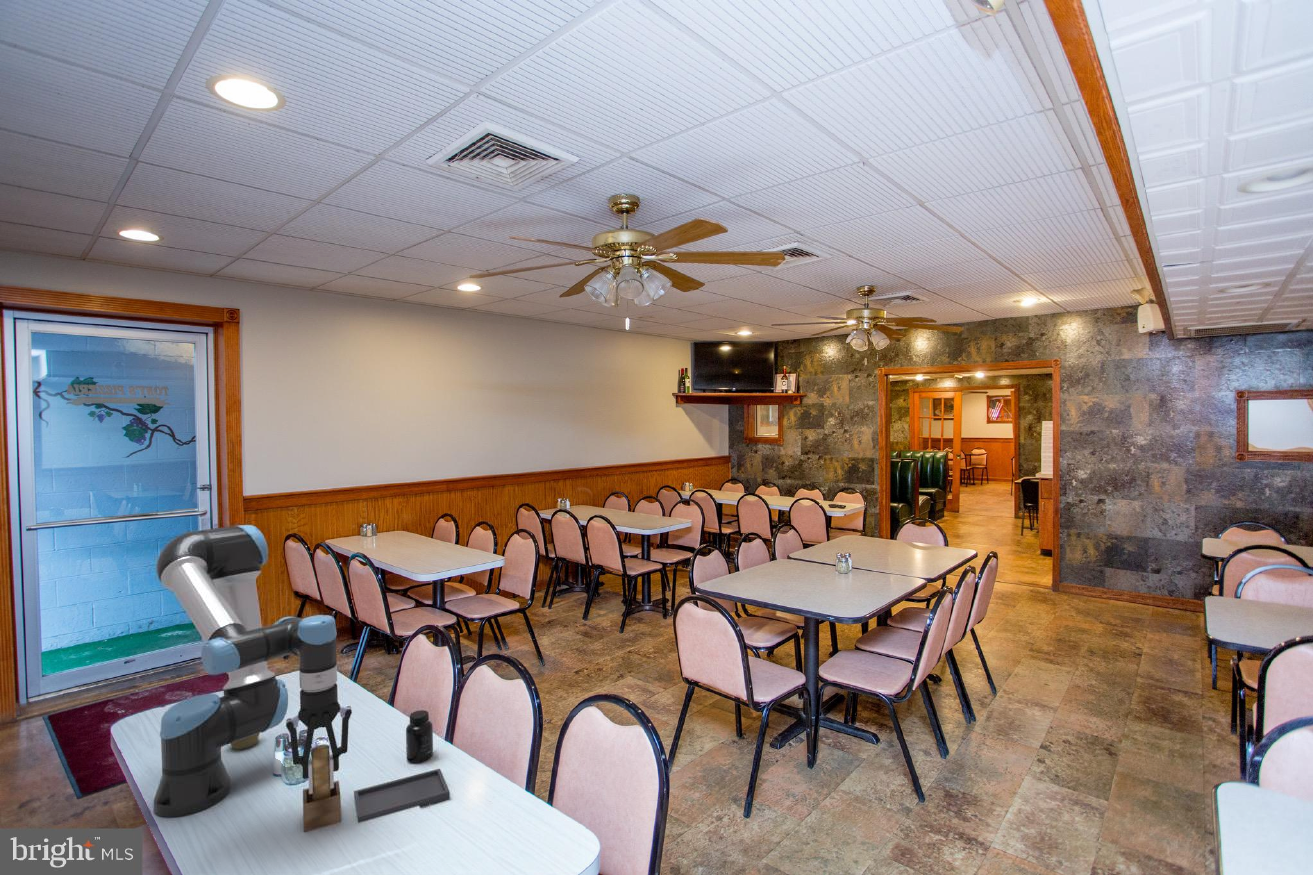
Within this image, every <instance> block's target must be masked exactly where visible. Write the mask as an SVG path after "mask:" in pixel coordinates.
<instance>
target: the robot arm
mask: <svg viewBox="0 0 1313 875" xmlns="http://www.w3.org/2000/svg"><path fill="white" fill-rule="evenodd" d="M267 544H268V543H267V541H266V538H265V535H264V534H263V533H262V532H261V530H260V529H259V528H258V527H257V526H254V525H251V524H244V525H243V524H242V525H236V524H235V525H231V526H224V527H217V528H208V529H201V530H191V531H188V532H185V533H182V534H181V533H180V534H179V535H178V536H176V537H174V538H173V539H171V540H170V541H169V542H168V543H167V544H166V545H165V546H164V547H163V549H162V550H161V552H160V554H159V555H158V559H157V562H156V568H155V569H156V574H157V578H158V580H159V582H160V583H161V584H162V586H163V587H164V588H165V589H166V590H169V591H172V593H173V594H174V595H175V597H176V599H177V601H178V602H179V603H180V605H181V606H182V608H183V609H184V611H185V613H186V614H187V615H188V617H189V619H190V620H191V622H192V623H193V625H194V627H195V628H196V630H197V632H199V635H200V637H201V638H202V639H203V642H204V643H203V645H202V647H201V652H200V659H201V660H200V661H201V663H202V667H203V669H204V671H205V673H207V674H209V675H211V676H217V675H220V674H221V675H222V674H225V673H226V674H227V673H228V681H227V682H226V684H224V686H223V688H222V689H223V690H222V691H223V696H219V695H218V694H216V693H210V692H209V693H204V694H202V695H201V694H197V695H194V696H191V697H189V698H186V699H183V700H181V701H179V702H177V703H176V704H173V705H172V706H171V707H169V708H168V709H167V711H165V712H164V713H163V715H162V717H161V722H160V731H159V737H160V742H161V744H160V745H161V746H160V748H161V750H160V751H161V752H160V753H161V773H162V774H161V777H160V780H159V783H158V787H157V788H156V791H155V795H154V797H153V812H154V814H156V815H157V816H159V817H163V818H164V817H165V818H171V817H172V818H174V817H182V816H183V817H184V816H186V815H192V814H193V813H198V812H200V811H203V810H205V809H208V808H210V807H212V806H214V805H215V804H217V803H218V802H220V801H222V800H223V799H225V797H227V795H229V793H230V791H231V777H230V775H229V772H228V770H227V768H226V766H225V764H224V762H223V760H222V747H224V746H227V745H231V743H233V742H236V741H238V740H241V739H244V738H246V737H249V736H252V735H254V734H257V733H260V734H261V733H265V732H267V730H270V729H273V728H274V727H276V726H279V725H280V724H281V723H282V722H283V721H284V720H285V717H286V715H287V711H288V708H289V692H288V688H287V687H286V684H285V682H284V681H283V680H282V679H278V678H277V677H276V673H275V672H273V671H271V670H269V667H268V663H267V662H268V661H272V660H275V659H279V658H281V657H286V656H288V655H295V656H297V657H298V662H299V665H298V666H299V668H298V669H299V688H300V691H299V702H300V703H299V704H300V705H299V706H300V708H299V711H298V713H297V715H295V716H294V717H292V718H291V717H289V718H287V719H286V721H285V727H286V729H287V730H288V732H289V736H290V737H289V739H290V746H291V757H292V764H293V765H294V766H298V765H300V766H302V769H301V770H302V779H303V780H306V779H308V788H309V794H312V793H313V781H312V758H311V759H310V754H311V750H312V745H313V744H312V743H313V740H314V739H313V738H314V734H315V733H314V732H315V730H317V729H320V728H322V729H323V728H325V730H326V734H327V738H328V743H329V748H330V751H331V754H329V755H330V758H329V763H330V789H332V788H334V781H335V780H334V779H335V778H334V777H335V776H334V772H338V771H339V770H340V759H339V758H340V756H341V755H343V754H346V753H348V745H349V744H348V743H349V722H350V721H349V720H350V718H351V715H352V713H353V712H352V711H353V710H352V707H351V706H349V705H348V706H346V707H345V706H341V704H340V703H339V700H338V699H339V698H338V696H339V695H338V684H337V682H338V664H337V655H338V654H337V652H338V651H337V635H338V633H337V627H336V619H335V618H334V617H333V616H332V615H327V614H326V615H325V614H321V615H320V614H315V615H312V616H308V617H304V618H301V617H297V616H296V617H295V616H285V617H282V618H280V619H279V620H277V621H276V622H275V623H273V624H272V625H266V626H264V627H263V624H262V618H261V610H260V602H259V595H258V589H257V582H256V580H257V578H258V577H259V575H260V574H261V573H262V569H261V567H262V566H264V565H265V564H266V563H267V561H268V557H269V556H268V555H269V550H268V548H269V547H268V545H267ZM338 714H340V718H341V737H340V739H341V740H340V741H341V743H340V746H339V747H338V743H337V740H336V739H337V738H336V736H335V731H334V728H333V721H334V720H335V719H336V718H337V715H338ZM299 721H300V722H301V723H302V724H303V725H305V727H306V728H307V729H306V734H305V735H306V736H305V740H304V745H303V746H304V747H303V753H302V755H300V753H299V741H298V732H297V728H298V727H299Z"/></svg>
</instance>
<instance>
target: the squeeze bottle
mask: <svg viewBox="0 0 1313 875" xmlns="http://www.w3.org/2000/svg"><path fill="white" fill-rule="evenodd" d="M260 734H261V733H257V734H254V735H252V736H249V737H246V738H244V739H241V740H238V741H236V742H233V743H230V746H231V748H232V749H234V750H244V749H247V748H251V747H253V746H255V744H257V743H258V740H259V736H260Z"/></svg>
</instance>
